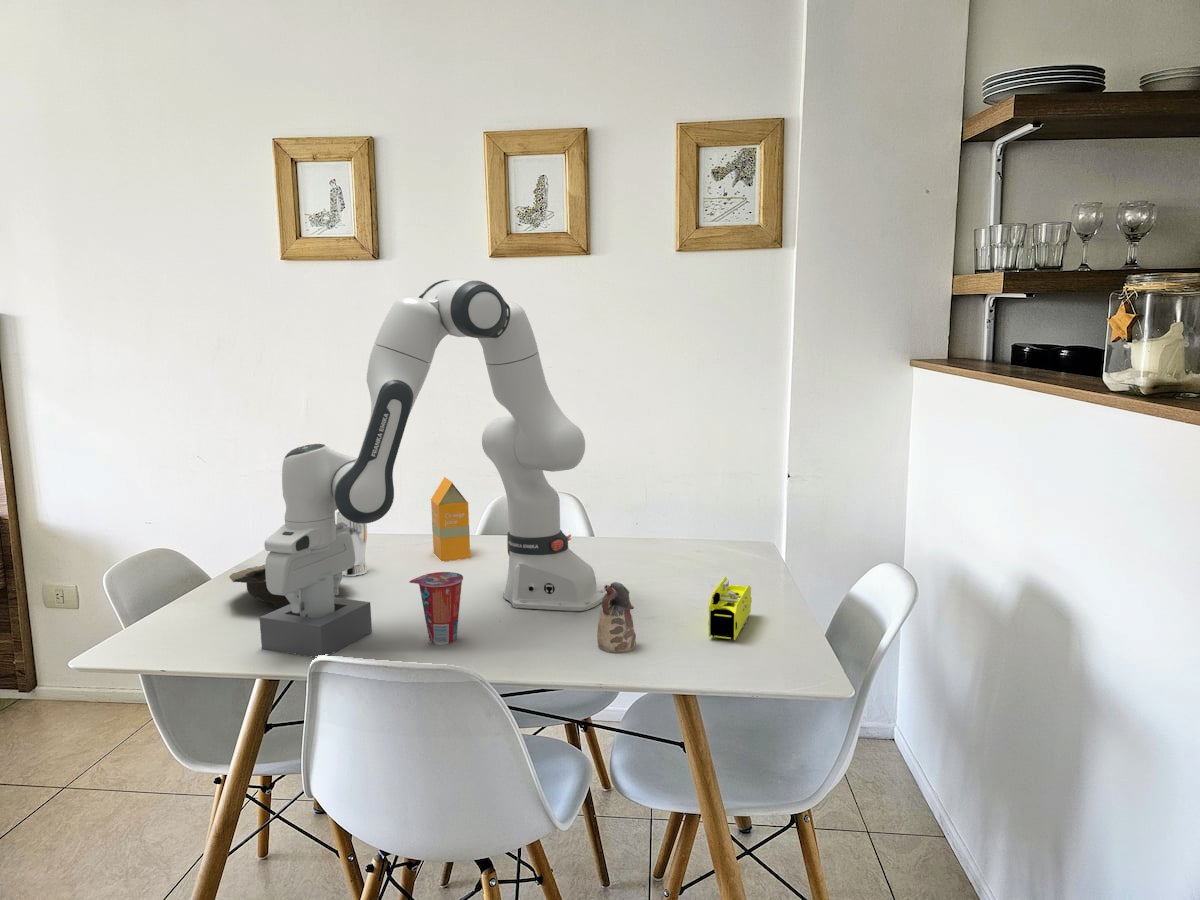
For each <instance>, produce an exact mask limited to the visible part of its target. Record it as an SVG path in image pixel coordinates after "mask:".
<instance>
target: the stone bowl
mask: <svg viewBox="0 0 1200 900" xmlns="http://www.w3.org/2000/svg"><path fill="white" fill-rule="evenodd" d="M228 578H229V579H230V580H231V583H244V584H245V583H246V584H245V585H246V590H247V592H248V593H249V595H250V596H251V597H253V598H257V599H259V601H261V602H264V603H265V602H267V603H271V604H273V609H274V611H275V610H277V609H280V608H282V607H284V606H287V605H289V604H291V603H290V602H289V601H288V599H287V598H286V597H285V595H284V596H283V595H275V594H271V593H270V592H269V590H268V589H267V585H266V572H265V564H263V565H260V566H256V565H255V566H252V567H248V568H246V569H242V570H239V571H237V572H234V573H233V572H232V573H231V574H230V575H229V577H228ZM297 597H298V598H299V595H297Z"/></svg>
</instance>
